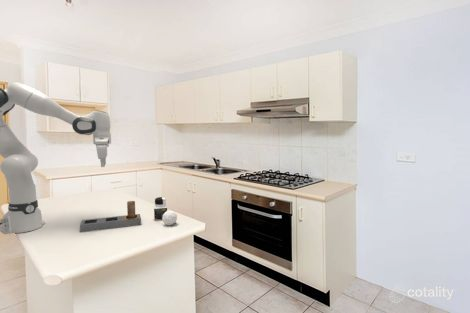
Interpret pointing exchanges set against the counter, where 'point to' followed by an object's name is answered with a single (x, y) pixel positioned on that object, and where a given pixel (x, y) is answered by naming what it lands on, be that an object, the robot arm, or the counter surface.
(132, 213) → the walnut peg
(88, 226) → the rectangular metal frame
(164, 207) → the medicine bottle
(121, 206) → the counter surface
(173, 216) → the ball
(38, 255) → the counter surface
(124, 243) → the counter surface
